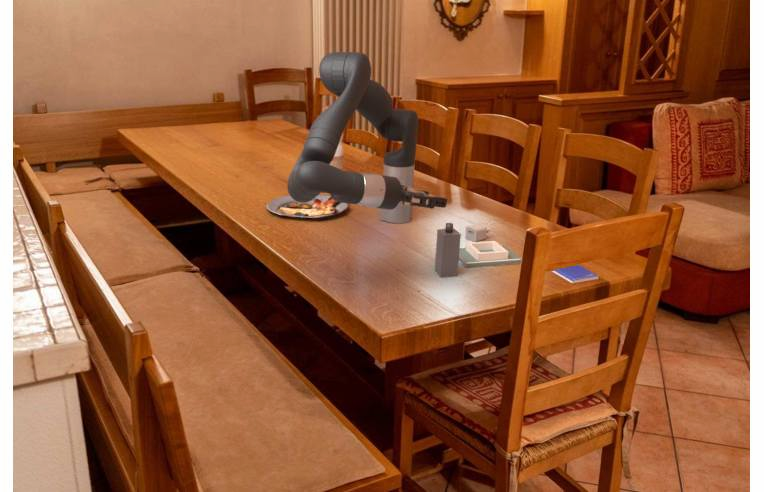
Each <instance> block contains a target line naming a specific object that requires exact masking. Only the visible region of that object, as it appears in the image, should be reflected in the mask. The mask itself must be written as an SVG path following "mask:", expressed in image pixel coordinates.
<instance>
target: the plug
mask: <svg viewBox="0 0 764 492" xmlns="http://www.w3.org/2000/svg"><path fill="white" fill-rule="evenodd" d="M461 237H462V233H460V232H459V231H458V230H456V229H455V228H454V223H452V222H446V223H445V228H439V229H437V231H436V248H435V257H434V258H435V259H434V260H435V261H434V272H435V273H436V274H437V276H438V277H440V278H452V277H453V278H454V277H458V273H459V263H460V262H459V250H460V248H461Z"/></svg>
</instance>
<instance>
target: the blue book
mask: <svg viewBox="0 0 764 492" xmlns="http://www.w3.org/2000/svg"><path fill="white" fill-rule="evenodd" d="M551 272H552V273H554V274H556V275H558V276H559V277H561V278H563V279H564V280H566V281H568V282H569V283H571V284H575V283H576V284H577V283H581V282H582V283H583V282H587V281H594V280H599V277H600V276H599V274H596V273H594V272H592V271H591V270H589V269H588V268H585V267H583V266H581V265H580V264H578V265H576V266H571V267H566V268H561V269H557V270H554V271H551Z"/></svg>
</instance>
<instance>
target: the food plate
mask: <svg viewBox="0 0 764 492" xmlns="http://www.w3.org/2000/svg"><path fill="white" fill-rule="evenodd" d="M349 207H350V205H349V204H348V203H341V202H337V201H335V200H333V199H332V197H331V195H324V194H319V195H318V196H316V197H315V198H314V199H313V200H311V201H309V202H306V203H300V202H297V201H295V200H294V199H292V197H291V196H290V195H283V196H280V197H276V198H275V199H274V198H273V199H272V200H271V201H270V202H269V203H267V204H266V208H267V209H268V211H269V212H272V213H273V214H277V215H279V216H287V217H289V218H290V217H291V218H301V219H304V218H309V219H311V218H312V219H321V218H327V217H333V216H336V215H340V214H342V213H343V212H345V211H346V210H347V209H349Z"/></svg>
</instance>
